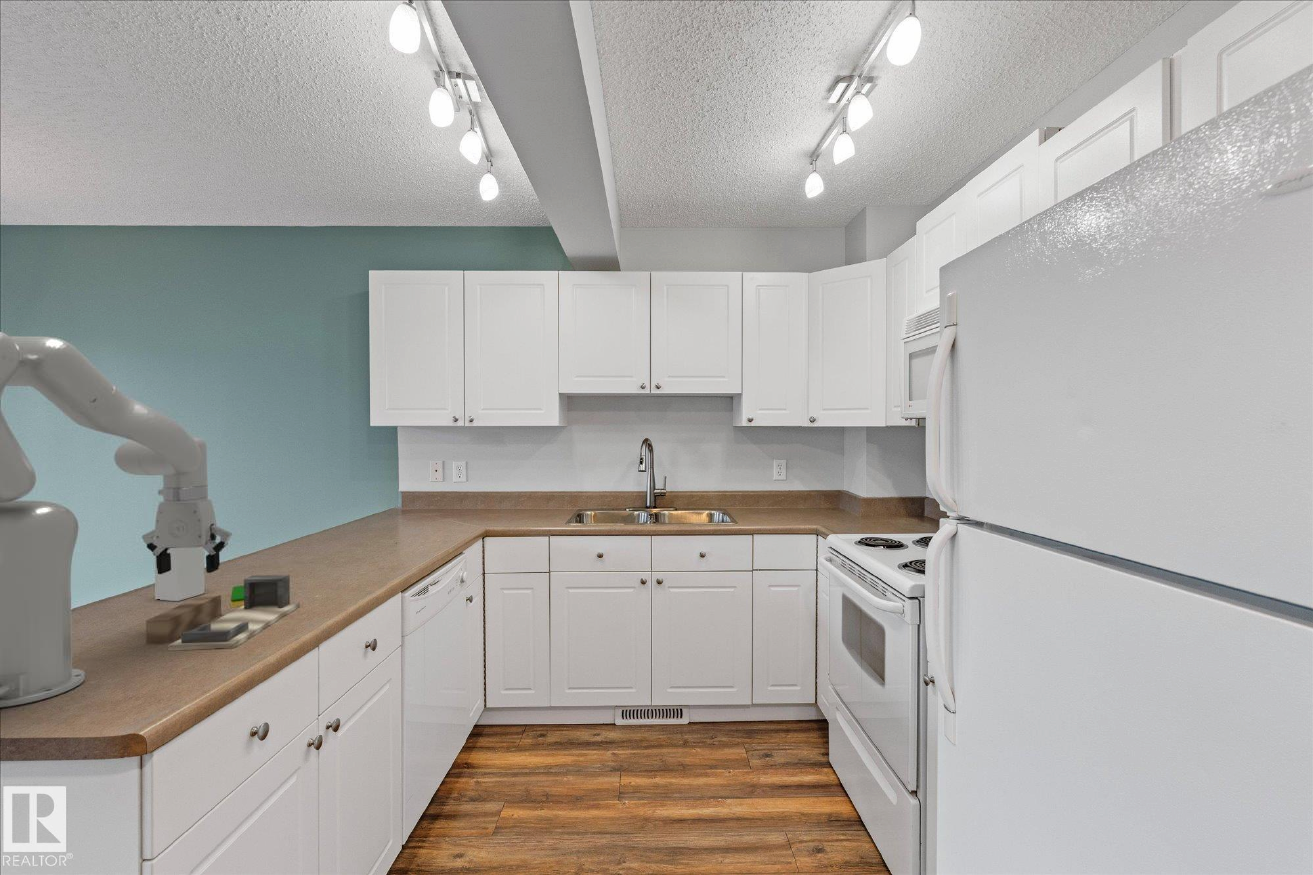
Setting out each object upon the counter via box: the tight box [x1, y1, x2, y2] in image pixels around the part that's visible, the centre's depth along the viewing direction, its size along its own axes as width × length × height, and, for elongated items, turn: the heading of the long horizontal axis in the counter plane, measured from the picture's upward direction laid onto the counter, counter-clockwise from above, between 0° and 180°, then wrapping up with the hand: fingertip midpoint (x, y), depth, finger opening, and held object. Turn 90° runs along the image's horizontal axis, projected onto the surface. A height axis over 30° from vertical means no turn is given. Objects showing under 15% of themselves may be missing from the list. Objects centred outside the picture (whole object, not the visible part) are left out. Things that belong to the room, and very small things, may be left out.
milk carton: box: [154, 546, 206, 602], centre depth 150 cm, size 7×7×19 cm
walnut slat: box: [145, 593, 222, 644], centre depth 127 cm, size 18×4×5 cm, turn 8°
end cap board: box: [167, 574, 301, 652], centre depth 129 cm, size 27×12×8 cm, turn 7°
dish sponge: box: [230, 584, 244, 608], centre depth 149 cm, size 7×14×2 cm, turn 34°
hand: (188, 571), depth 128 cm, fingers open, 9 cm apart
